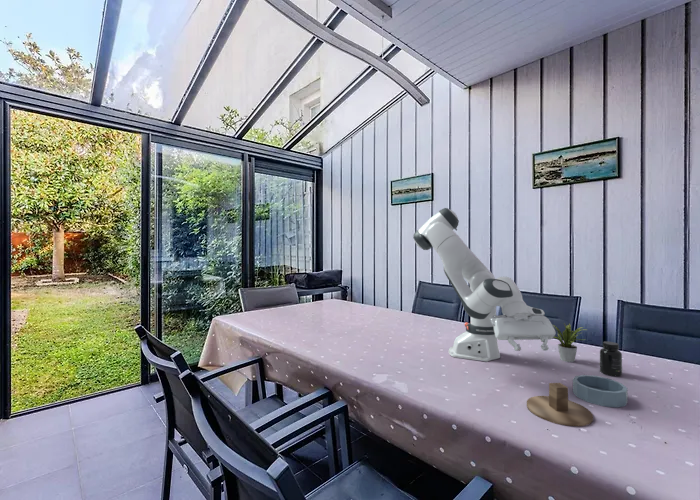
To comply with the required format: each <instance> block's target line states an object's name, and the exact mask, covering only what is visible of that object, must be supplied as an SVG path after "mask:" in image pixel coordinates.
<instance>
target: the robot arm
mask: <svg viewBox="0 0 700 500" xmlns="http://www.w3.org/2000/svg"><path fill="white" fill-rule="evenodd" d="M458 217H459V216H457V213H456V212H455V211H453V210H452V209H450V208H448V207H444V208H442V209H440V210H438V212H437V213H435V214H433V216H430V218H428V219H427V221H425V222H424V223H423V224H422V226H420V227H419V228H418V230H416V231H415V232H414V233H413V236H412V237H413V241H414V243H415V245H416V246H417V247H418V248H420V249H422V250H423V251H428V250H430V249H432V248H433V249H434V250H435V252H436V253H437V254H438V256H439V257H440V260H441V262H442V265H443V271H444V274H445V276H446V278H447V280H448V282H449V284H450V285H451V287H452V289H453V290H454V291H455V293H456V294H457V296H458V299H459V300H460V302H461V304H462V307H463V309H464V311H465V313H466V315H468V316H469V317H470V322H466V321H465V323H464V327H465V331H464V332H463V333H461V334H460V335H458V336H456V338H455V339H454V341H453V346H450V347H449V349H448V354H449V356H451V357H452V358H458V359H465V360H473V361H482V362H490V361H493V360H499V359H500V358H501V353H500V349H499V344H498V340H499V341H507V343H508V344H510V345H511V346H512V347H513V349H514V351H516V352H519V351H521V350H522V347H521V345H520V343H517V342H516V340H517V341H524V340H526V341H527V340H528V341H529V340H530V341H531V340H532V341H533V340H535V341H536V340H537V341H538V340H539V341H541V342H542V344H541V345H540V349H541V351H548V350H549V349H550V348H549V345H548V341H549V340H552V339H554V338H553V337H556V334H557V333H556V332H557V331H556V330H555V329H556V328H555V327H554V326H553V325H554V324H552V322H551V321H550V319H549V318H548V317H547V316H545V314H546V313H545V311H544V310H543V309H541V308H536V307H532V306H529V305H527V303H526V302H525V301H524V299H523V294H522V292H521V291H520V288H519V286H518V285H517V284H516V283H515V281H514V280H513V278H511V277H508V276H499V277H497V278H495V275H494V274H493V273H492V272H491V271H490V269H489V268H488V267H487V266H486V265H485V264H484V263H483V262H482V261H481V259H480V258H478V257H477V256H476V254H475V253H474V252H473V251H472V249H470V248H469V247H468V245H467V244H466V243H465V242H464V240H463V239H462V238H461V237H460V236H459V235H458V234H457V232H455V231H458V229H457V228H458V226H459V222H460V221H459V218H458ZM454 230H455V231H454ZM468 284H469V285H468ZM497 307H500V308H501V313H502V314H501V315H497Z"/></svg>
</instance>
